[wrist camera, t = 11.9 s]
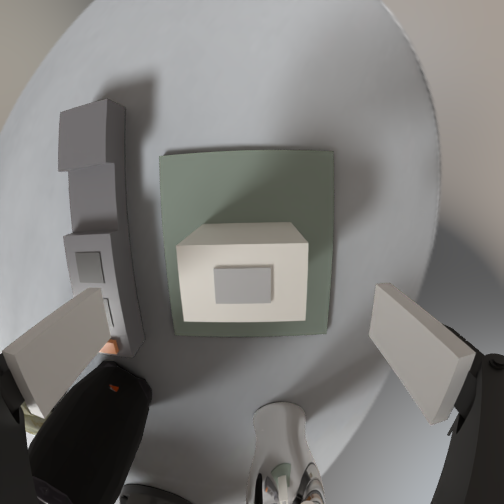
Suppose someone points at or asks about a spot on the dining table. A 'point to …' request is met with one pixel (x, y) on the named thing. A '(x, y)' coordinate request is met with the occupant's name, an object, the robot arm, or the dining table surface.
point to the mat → (251, 220)
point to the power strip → (100, 217)
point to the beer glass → (282, 459)
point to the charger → (243, 273)
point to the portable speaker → (90, 438)
